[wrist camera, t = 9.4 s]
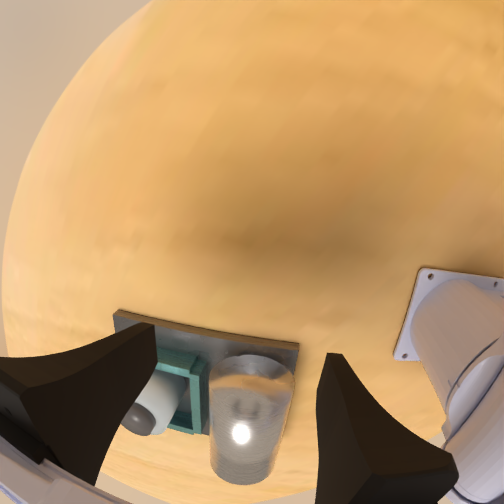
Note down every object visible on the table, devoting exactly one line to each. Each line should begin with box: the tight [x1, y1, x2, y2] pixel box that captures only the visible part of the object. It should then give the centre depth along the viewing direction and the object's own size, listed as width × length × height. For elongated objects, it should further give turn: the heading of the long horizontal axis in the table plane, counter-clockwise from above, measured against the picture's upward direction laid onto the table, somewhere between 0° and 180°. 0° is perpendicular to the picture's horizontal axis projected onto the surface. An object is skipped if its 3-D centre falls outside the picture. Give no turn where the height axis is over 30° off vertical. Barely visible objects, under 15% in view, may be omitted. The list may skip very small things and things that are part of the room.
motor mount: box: [113, 310, 299, 485], centre depth 22 cm, size 16×13×7 cm
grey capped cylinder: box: [121, 369, 186, 436], centre depth 22 cm, size 5×5×6 cm
